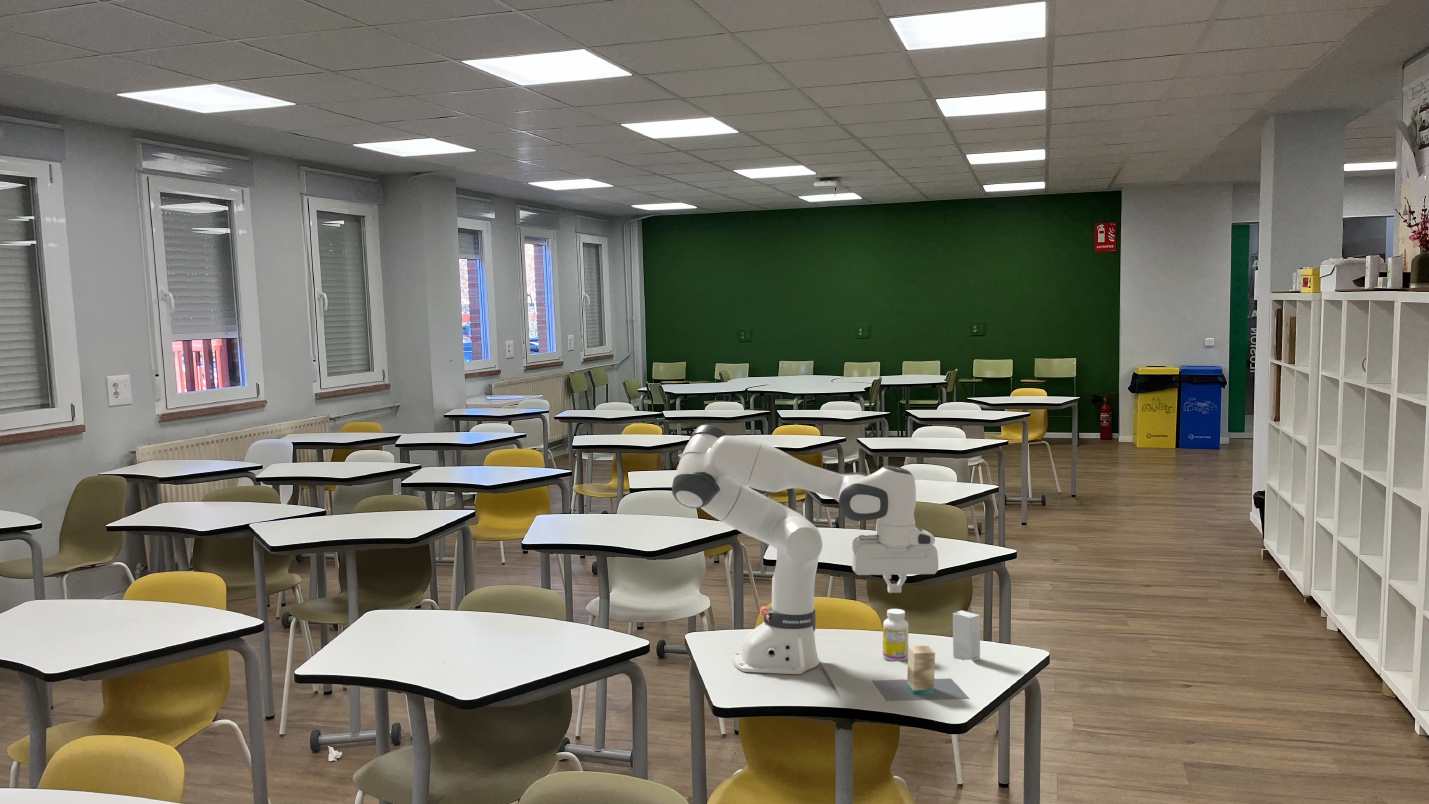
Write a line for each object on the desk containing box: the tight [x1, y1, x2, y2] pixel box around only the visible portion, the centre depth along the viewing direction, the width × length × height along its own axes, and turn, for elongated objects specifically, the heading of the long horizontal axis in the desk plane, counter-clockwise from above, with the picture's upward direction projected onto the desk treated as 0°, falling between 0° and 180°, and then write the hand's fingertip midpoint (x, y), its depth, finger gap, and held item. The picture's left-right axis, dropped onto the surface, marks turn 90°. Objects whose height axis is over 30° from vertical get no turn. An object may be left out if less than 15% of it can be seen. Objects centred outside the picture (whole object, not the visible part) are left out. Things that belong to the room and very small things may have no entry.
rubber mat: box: [872, 677, 971, 702], centre depth 232 cm, size 20×13×1 cm, turn 95°
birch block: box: [906, 645, 936, 694], centre depth 231 cm, size 5×5×10 cm
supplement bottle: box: [882, 608, 910, 663], centre depth 256 cm, size 7×7×13 cm
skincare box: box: [952, 610, 981, 662], centre depth 257 cm, size 6×4×12 cm
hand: (894, 592), depth 229 cm, fingers closed
